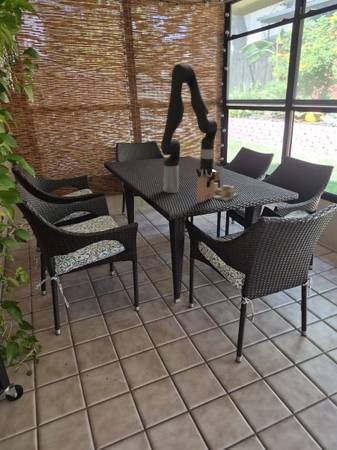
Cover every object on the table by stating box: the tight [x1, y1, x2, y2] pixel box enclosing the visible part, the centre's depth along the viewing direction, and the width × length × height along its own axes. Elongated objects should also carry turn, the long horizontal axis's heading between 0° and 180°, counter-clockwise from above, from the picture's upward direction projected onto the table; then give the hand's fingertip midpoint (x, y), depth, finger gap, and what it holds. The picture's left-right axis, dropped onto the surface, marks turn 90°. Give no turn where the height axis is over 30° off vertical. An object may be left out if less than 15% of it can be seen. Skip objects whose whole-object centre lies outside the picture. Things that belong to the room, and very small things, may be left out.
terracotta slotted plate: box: [196, 173, 214, 203], centre depth 181 cm, size 3×12×14 cm, turn 137°
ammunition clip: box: [214, 170, 221, 188], centre depth 207 cm, size 11×2×12 cm, turn 120°
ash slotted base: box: [205, 182, 239, 202], centre depth 192 cm, size 18×14×7 cm
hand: (205, 186), depth 180 cm, fingers closed on terracotta slotted plate, 3 cm apart
